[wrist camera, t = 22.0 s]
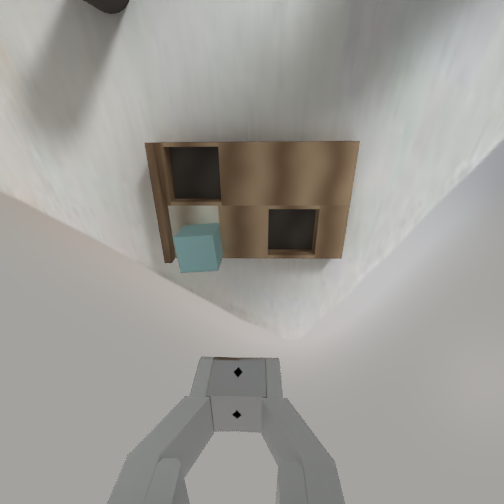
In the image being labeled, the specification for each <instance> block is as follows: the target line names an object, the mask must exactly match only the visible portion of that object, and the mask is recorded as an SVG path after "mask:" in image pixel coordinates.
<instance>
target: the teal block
mask: <svg viewBox="0 0 504 504" xmlns="http://www.w3.org/2000/svg"><path fill="white" fill-rule="evenodd" d="M173 239H174V244H175V248H176V253H177V257H178V261H179V266H180V270H181V273H186V272H203V271H218V270H219V266H220V263H221V260H222V257H223V250H222V243H221V236H220V229H219V223H210V224H196V225H184V226H183V227H182V228H181V229H180V231H179V232H178V233H177V234H176V235H175V236H174V237H173Z"/></svg>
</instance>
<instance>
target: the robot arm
mask: <svg viewBox="0 0 504 504" xmlns="http://www.w3.org/2000/svg"><path fill="white" fill-rule="evenodd" d="M214 431H242V432H261V433H262V436H263V438H264V439H265V442H266V443H267V446H268V448H269V449H270V451H271V453H272V455H273V457H274V459H275V461H276V463H277V465H278V478H277V492H276V504H345V502H344V497H343V493H342V489H341V485H340V481H339V476H338V472H337V468H336V464H335V461H334V459H333V458H332V457H331V456H330V454H329V453H328V452H327V450H326V449H325V448H324V446H323V445H322V444H321V443H320V441H319V440H318V439H317V437H316V436H315V435H314V433H313V432H312V430H311V429H310V428H309V427H308V425H307V424H306V423H305V421H304V420H303V419H302V417H301V416H300V415H299V413H298V412H297V411H296V409H295V408H294V407H293V405H292V404H291V403H290V401H289V400H288V399H287V398H283V393H282V384H281V373H280V362H279V359H278V358H228V357H201V358H200V360H199V364H198V367H197V371H196V374H195V378H194V382H193V385H192V389H191V393H190V396H185V397H184V398H183V399H182V400H181V401H180V402H179V403H178V404H177V405H176V407H174V408H173V409H172V411H170V413H169V414H168V415H167V416H166V417H165V418H164V419H163V420H162V421H161V422H160V423H159V424H158V425H157V426H156V427H155V428H154V429H153V430H152V431H151V432H150V433H149V434H148V435H147V436H146V437H145V438H144V439H143V440H142V441H141V442H140V443H139V444H138V445H137V446H136V447H135V448H134V449H133V450H132V451H131V452H130V453H129V454H128V455H127V458H126V460H125V462H124V465H123V467H122V469H121V472H120V474H119V477H118V479H117V481H116V484H115V486H114V489H113V491H112V493H111V496H110V498H109V500H108V503H107V504H190V503H189V499H188V494H187V490H186V485H185V480H184V478H185V476H186V475H187V473H188V472H189V470H190V469H191V467H192V465H193V464H194V463H195V461H196V459H197V458H198V457H199V455H200V453H201V452H202V450H203V449H204V447H205V446H206V444H207V443H208V441H209V440H210V438H211V437H212V435H213V434H214Z"/></svg>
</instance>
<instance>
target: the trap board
mask: <svg viewBox="0 0 504 504" xmlns="http://www.w3.org/2000/svg"><path fill="white" fill-rule="evenodd" d="M359 142H360V141H302V142H175V143H145V148H146V154H147V160H148V166H149V172H150V178H151V184H152V190H153V195H154V201H155V207H156V213H157V219H158V225H159V231H160V237H161V243H162V249H163V255H164V261H165V263H172V262H173V260H174V259H175V258H178V257H177V253H176V248H175V244H174V239H173V237H174V236H175V235H176V234H177V233H178V232H179V231H180V229H181V228H182V227H183V226H184V225H196V224H210V223H219V229H220V236H221V243H222V250H223V257H222V258H342V251H343V245H344V239H345V232H346V226H347V219H348V213H349V207H350V200H351V194H352V187H353V181H354V175H355V168H356V162H357V155H358V149H359Z"/></svg>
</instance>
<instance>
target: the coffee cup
mask: <svg viewBox="0 0 504 504" xmlns="http://www.w3.org/2000/svg"><path fill="white" fill-rule="evenodd" d="M84 1H86V2H87V3H89V4H91V5H93V6H94V7H96V8H98V9H99V10H101V11H103V12H106V13H110V14H113V13H119V12H120V11H121V10H123V9H124V8H125V7H126V5H127V4H128V2H129V0H84Z"/></svg>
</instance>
